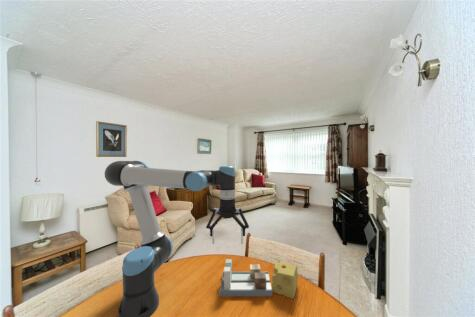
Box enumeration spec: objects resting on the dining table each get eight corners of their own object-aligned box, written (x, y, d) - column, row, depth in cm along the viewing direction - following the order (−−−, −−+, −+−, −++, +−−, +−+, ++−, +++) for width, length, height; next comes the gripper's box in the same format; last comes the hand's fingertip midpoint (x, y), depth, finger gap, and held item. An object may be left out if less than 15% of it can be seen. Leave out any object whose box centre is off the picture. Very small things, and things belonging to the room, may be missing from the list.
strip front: (224, 292, 82) (223, 272, 82) (225, 284, 87) (224, 266, 87) (272, 292, 81) (271, 272, 81) (270, 284, 86) (269, 265, 86)
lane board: (219, 296, 81) (219, 290, 81) (223, 276, 95) (222, 271, 95) (272, 296, 80) (272, 290, 80) (268, 276, 94) (268, 271, 94)
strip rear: (225, 282, 89) (225, 263, 89) (226, 275, 94) (226, 258, 94) (269, 281, 88) (269, 263, 88) (268, 275, 93) (267, 258, 93)
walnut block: (255, 289, 82) (255, 278, 82) (254, 283, 86) (254, 272, 86) (266, 289, 82) (266, 278, 82) (265, 282, 86) (264, 272, 86)
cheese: (271, 292, 83) (270, 270, 83) (277, 278, 92) (277, 259, 92) (294, 300, 78) (294, 276, 78) (298, 284, 87) (298, 264, 88)
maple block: (250, 279, 89) (250, 269, 89) (250, 274, 93) (249, 264, 93) (260, 279, 89) (260, 269, 89) (259, 273, 93) (259, 264, 93)
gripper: (199, 200, 82) (200, 246, 82) (253, 199, 82) (254, 246, 81) (203, 196, 90) (203, 239, 89) (252, 196, 89) (253, 239, 89)
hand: (227, 242), depth 85 cm, fingers open, 13 cm apart
